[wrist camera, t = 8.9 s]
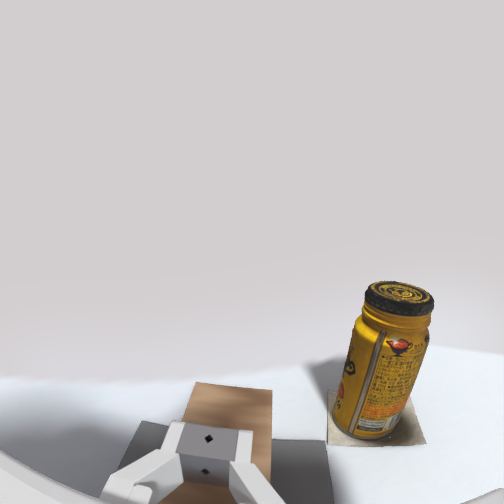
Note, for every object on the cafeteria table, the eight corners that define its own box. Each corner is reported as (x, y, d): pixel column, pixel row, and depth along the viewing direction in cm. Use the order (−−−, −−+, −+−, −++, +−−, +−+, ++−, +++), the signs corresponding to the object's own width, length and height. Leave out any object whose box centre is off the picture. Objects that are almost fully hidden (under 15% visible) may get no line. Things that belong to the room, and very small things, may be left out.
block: (135, 552, 7) (196, 379, 19) (156, 577, 8) (198, 428, 20) (266, 573, 6) (272, 387, 19) (256, 592, 8) (265, 436, 20)
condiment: (327, 392, 27) (351, 272, 24) (408, 395, 25) (444, 281, 22) (327, 446, 20) (365, 307, 17) (425, 446, 18) (482, 316, 15)
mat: (91, 534, 10) (87, 531, 10) (142, 425, 20) (141, 420, 20) (338, 568, 9) (341, 565, 9) (323, 445, 20) (324, 440, 20)
